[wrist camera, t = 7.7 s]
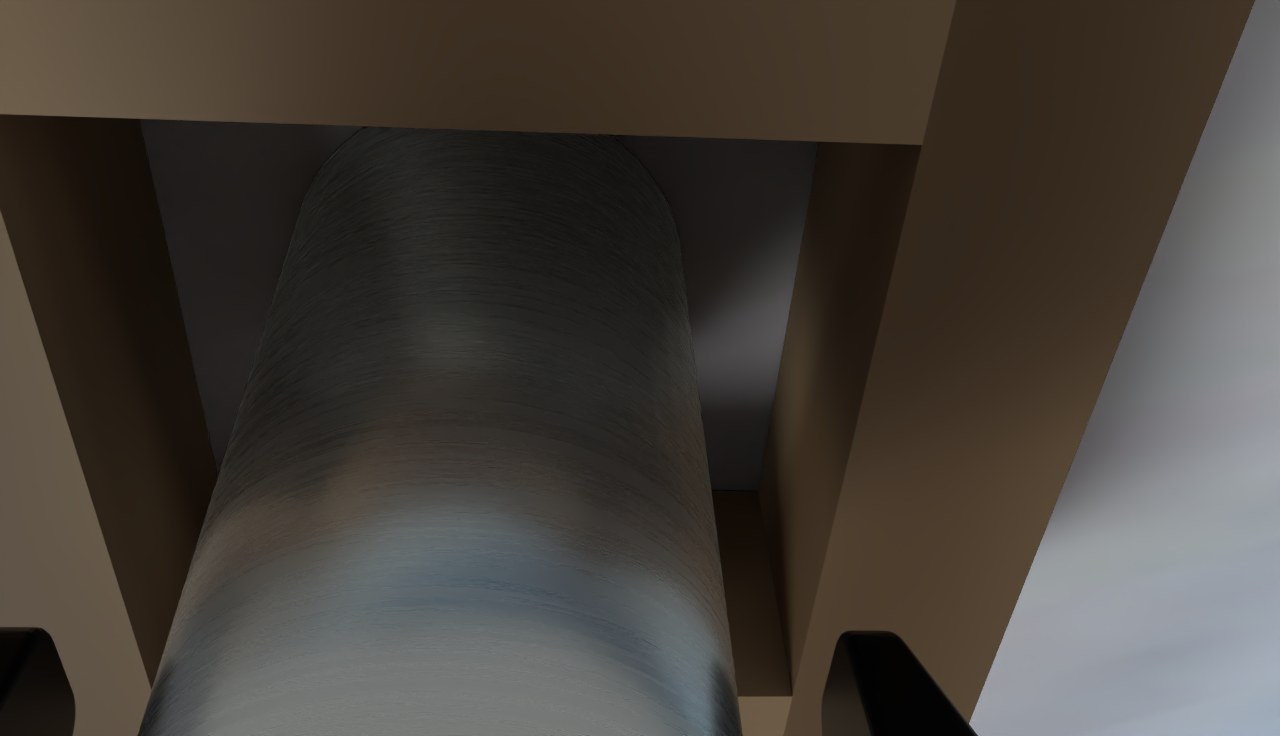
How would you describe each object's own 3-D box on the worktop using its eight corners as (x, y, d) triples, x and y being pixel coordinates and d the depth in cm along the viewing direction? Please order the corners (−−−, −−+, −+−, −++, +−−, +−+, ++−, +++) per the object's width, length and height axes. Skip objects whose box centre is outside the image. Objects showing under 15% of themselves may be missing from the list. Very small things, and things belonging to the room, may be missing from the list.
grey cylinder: (698, 102, 12) (950, 1534, 4) (665, 415, 14) (783, 1659, 7) (270, 86, 11) (-335, 1602, 4) (316, 409, 14) (9, 1708, 6)
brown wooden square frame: (1135, -252, 10) (1305, -133, 8) (886, 597, 17) (938, 800, 14) (-236, -332, 9) (-509, -228, 7) (84, 593, 16) (1, 807, 13)
